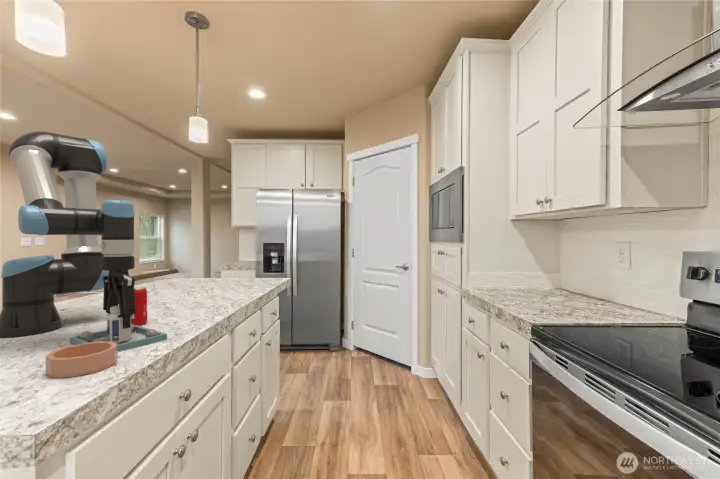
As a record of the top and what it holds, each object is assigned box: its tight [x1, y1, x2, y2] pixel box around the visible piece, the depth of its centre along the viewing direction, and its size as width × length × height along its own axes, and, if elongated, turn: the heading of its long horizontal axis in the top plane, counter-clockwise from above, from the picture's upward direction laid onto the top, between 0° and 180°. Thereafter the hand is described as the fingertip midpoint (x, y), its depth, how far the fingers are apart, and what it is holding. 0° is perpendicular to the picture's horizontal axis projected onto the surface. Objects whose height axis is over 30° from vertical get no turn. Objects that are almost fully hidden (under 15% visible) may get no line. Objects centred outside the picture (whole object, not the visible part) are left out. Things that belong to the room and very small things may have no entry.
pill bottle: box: [106, 305, 131, 344], centre depth 95 cm, size 5×5×10 cm
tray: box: [69, 325, 168, 352], centre depth 95 cm, size 20×16×2 cm
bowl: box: [45, 341, 118, 379], centre depth 76 cm, size 12×12×4 cm
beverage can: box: [131, 287, 148, 326], centre depth 113 cm, size 5×5×12 cm
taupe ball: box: [79, 330, 94, 343], centre depth 94 cm, size 3×3×3 cm
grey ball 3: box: [144, 328, 158, 338], centre depth 95 cm, size 3×3×3 cm
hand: (119, 337), depth 95 cm, fingers open, 6 cm apart
